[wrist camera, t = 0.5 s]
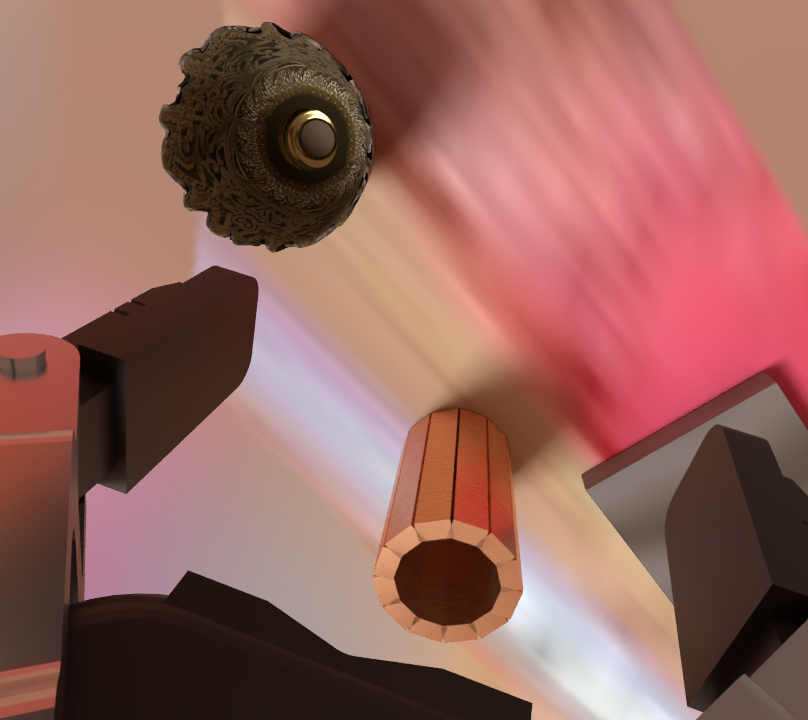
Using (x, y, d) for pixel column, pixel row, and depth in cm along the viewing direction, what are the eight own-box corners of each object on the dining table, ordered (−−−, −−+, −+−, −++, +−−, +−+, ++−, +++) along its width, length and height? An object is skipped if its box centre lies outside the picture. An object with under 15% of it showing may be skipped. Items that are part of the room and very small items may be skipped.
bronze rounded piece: (346, 252, 31) (304, 292, 24) (212, 167, 30) (125, 181, 23) (429, 109, 29) (412, 104, 21) (284, 14, 28) (213, -27, 20)
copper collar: (392, 418, 34) (359, 531, 24) (499, 401, 33) (507, 511, 24) (415, 510, 36) (393, 648, 26) (517, 496, 35) (532, 634, 25)
